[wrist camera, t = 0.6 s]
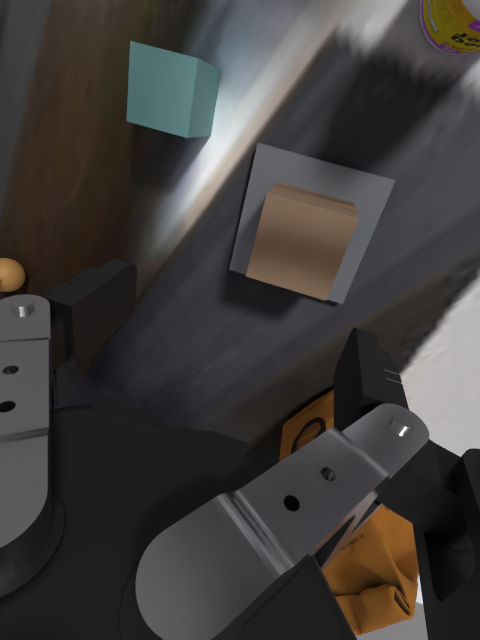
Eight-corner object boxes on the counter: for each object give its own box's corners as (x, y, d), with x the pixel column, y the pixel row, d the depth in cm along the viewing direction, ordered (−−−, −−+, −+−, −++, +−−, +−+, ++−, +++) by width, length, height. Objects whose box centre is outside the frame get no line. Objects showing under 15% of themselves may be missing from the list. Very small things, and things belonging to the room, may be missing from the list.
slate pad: (259, 143, 31) (257, 143, 30) (393, 179, 30) (395, 181, 29) (231, 266, 37) (229, 269, 37) (342, 300, 36) (342, 304, 36)
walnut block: (277, 181, 31) (267, 192, 26) (354, 202, 31) (359, 218, 26) (258, 254, 35) (245, 276, 30) (326, 274, 34) (326, 300, 29)
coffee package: (273, 411, 46) (232, 610, 27) (354, 364, 40) (375, 579, 21) (322, 458, 48) (316, 675, 29) (406, 421, 42) (468, 663, 23)
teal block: (165, 55, 30) (130, 40, 25) (221, 69, 29) (198, 58, 24) (159, 121, 32) (126, 121, 27) (210, 135, 32) (187, 138, 27)
